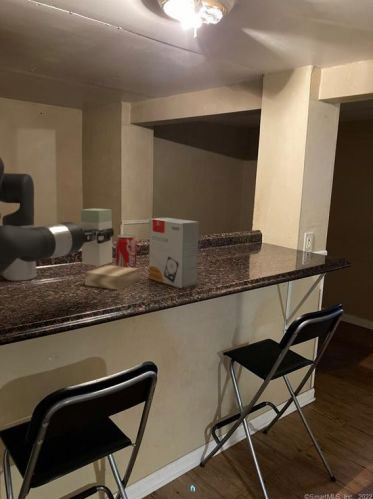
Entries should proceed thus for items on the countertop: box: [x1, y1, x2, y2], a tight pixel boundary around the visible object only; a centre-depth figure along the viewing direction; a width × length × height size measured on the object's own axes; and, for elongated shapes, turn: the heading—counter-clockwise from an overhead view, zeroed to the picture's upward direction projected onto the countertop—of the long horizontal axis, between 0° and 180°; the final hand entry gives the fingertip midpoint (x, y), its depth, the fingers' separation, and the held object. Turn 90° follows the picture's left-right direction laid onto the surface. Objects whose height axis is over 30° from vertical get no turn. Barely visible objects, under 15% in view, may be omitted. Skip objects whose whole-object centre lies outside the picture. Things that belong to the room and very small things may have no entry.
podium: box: [84, 264, 140, 291], centre depth 122 cm, size 12×12×4 cm
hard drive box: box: [148, 217, 200, 289], centre depth 124 cm, size 16×8×20 cm, turn 45°
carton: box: [80, 207, 113, 267], centre depth 102 cm, size 6×6×14 cm
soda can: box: [115, 234, 138, 269], centre depth 136 cm, size 7×7×13 cm
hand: (102, 231), depth 104 cm, fingers closed on carton, 5 cm apart
